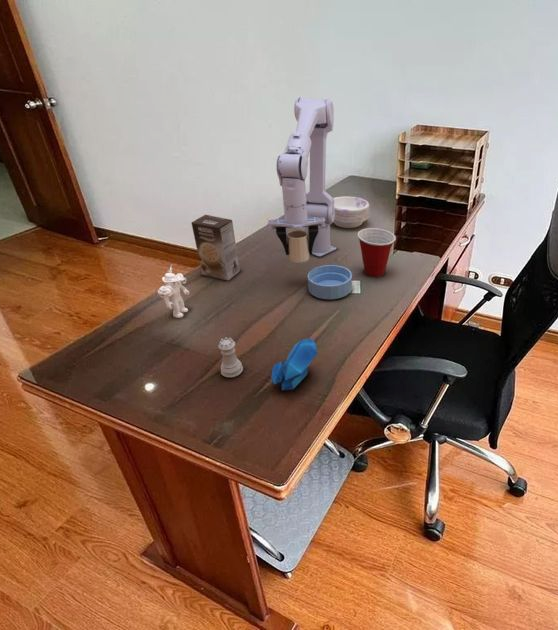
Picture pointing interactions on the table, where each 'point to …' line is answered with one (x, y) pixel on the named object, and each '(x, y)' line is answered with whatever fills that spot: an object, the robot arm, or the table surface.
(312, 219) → the robot arm
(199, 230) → the coffee box
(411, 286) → the table surface
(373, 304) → the table surface
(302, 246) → the cup
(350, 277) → the bowl
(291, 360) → the crystal
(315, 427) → the table surface
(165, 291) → the flower shoulder figurine
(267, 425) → the table surface
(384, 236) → the plastic cup
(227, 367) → the rook chess piece
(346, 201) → the paper bowls
